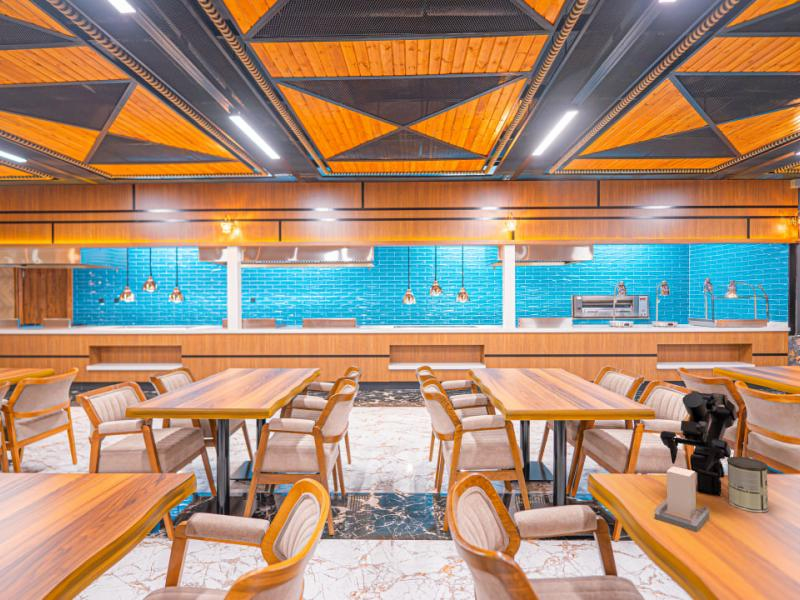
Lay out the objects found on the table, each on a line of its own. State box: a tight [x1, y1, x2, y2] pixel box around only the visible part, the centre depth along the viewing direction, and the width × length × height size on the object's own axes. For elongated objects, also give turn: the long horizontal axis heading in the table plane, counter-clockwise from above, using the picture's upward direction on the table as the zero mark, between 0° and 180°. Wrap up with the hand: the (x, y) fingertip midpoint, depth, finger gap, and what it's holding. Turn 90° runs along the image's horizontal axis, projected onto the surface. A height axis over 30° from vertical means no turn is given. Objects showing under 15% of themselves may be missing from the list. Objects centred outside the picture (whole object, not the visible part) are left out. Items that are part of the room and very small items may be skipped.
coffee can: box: [726, 456, 769, 514], centre depth 142 cm, size 10×10×14 cm
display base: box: [654, 497, 710, 533], centre depth 134 cm, size 13×11×3 cm
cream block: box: [666, 465, 697, 519], centre depth 134 cm, size 6×6×12 cm
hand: (689, 466), depth 140 cm, fingers open, 9 cm apart
